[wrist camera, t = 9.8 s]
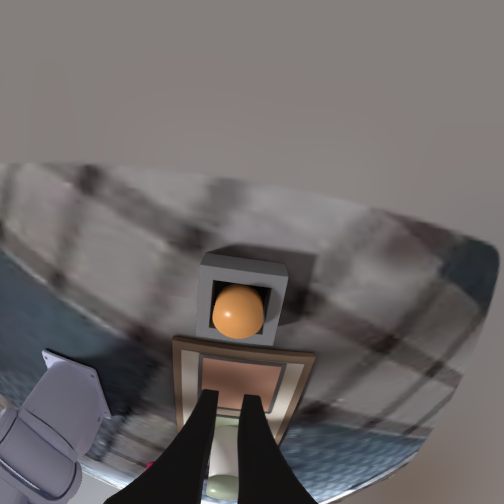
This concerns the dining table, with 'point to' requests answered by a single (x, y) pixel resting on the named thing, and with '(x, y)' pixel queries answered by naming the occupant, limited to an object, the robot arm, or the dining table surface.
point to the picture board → (238, 380)
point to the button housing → (241, 273)
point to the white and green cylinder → (224, 465)
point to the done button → (238, 311)
